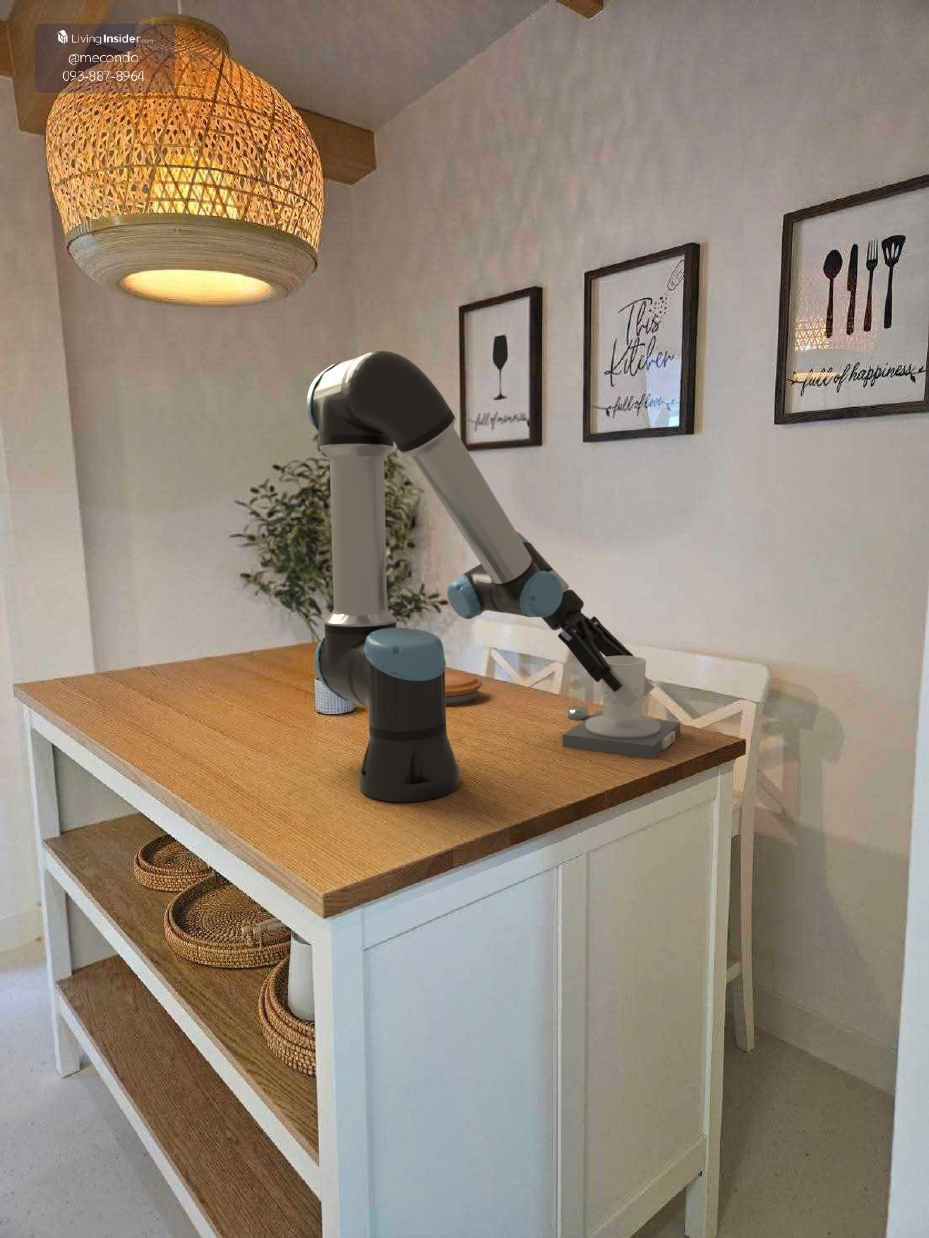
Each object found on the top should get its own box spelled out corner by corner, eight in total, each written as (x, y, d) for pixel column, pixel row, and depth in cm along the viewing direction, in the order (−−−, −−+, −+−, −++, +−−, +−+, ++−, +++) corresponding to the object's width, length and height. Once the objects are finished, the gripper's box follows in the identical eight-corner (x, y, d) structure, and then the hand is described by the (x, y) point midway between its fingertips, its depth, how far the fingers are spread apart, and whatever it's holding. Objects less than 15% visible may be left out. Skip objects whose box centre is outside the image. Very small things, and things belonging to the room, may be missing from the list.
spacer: (583, 722, 157) (583, 712, 157) (564, 719, 159) (564, 709, 159) (591, 717, 161) (591, 707, 160) (573, 714, 163) (572, 705, 162)
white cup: (645, 722, 139) (646, 664, 137) (599, 720, 140) (598, 664, 139) (645, 710, 146) (645, 655, 145) (601, 709, 148) (600, 655, 147)
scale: (656, 759, 133) (656, 741, 132) (562, 746, 141) (562, 729, 141) (683, 734, 146) (684, 718, 146) (596, 724, 155) (596, 708, 154)
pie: (497, 699, 177) (496, 676, 177) (440, 712, 168) (439, 688, 167) (453, 688, 189) (453, 667, 189) (398, 699, 180) (397, 677, 179)
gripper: (564, 608, 157) (645, 697, 152) (516, 623, 140) (606, 725, 134) (590, 581, 154) (673, 672, 148) (544, 594, 137) (637, 696, 131)
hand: (641, 697), depth 141 cm, fingers closed on white cup, 8 cm apart
